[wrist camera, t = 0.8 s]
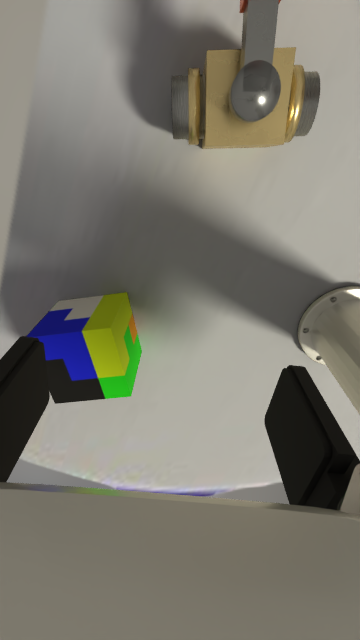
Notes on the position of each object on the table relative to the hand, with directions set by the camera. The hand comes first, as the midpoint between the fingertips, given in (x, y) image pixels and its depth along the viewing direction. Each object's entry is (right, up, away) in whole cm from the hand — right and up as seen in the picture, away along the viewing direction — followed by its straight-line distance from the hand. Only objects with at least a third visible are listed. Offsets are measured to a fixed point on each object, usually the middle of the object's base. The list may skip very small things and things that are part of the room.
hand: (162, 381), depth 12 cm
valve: (+7, +24, +20) cm, 32 cm away
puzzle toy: (-11, +1, +33) cm, 35 cm away
